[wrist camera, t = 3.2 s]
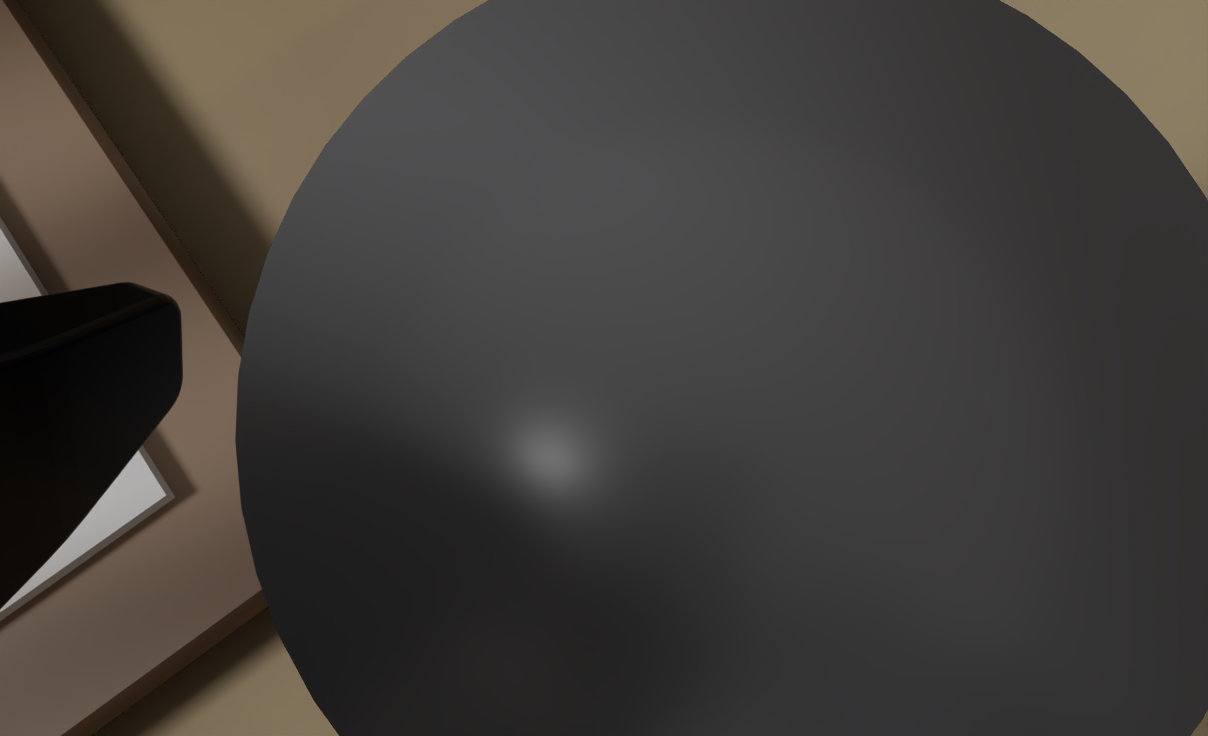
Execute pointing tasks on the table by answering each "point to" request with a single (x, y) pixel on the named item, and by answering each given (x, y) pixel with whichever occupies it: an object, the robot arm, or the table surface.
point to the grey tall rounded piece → (737, 384)
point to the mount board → (163, 463)
